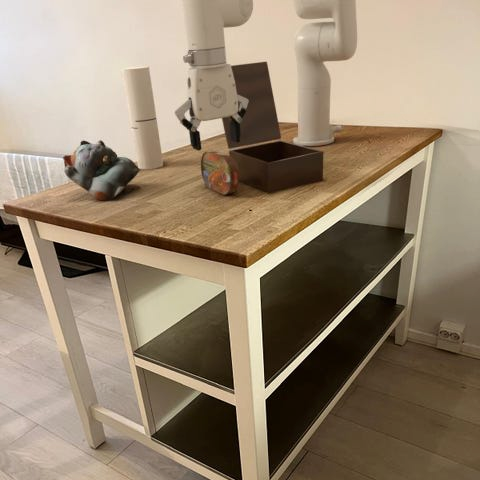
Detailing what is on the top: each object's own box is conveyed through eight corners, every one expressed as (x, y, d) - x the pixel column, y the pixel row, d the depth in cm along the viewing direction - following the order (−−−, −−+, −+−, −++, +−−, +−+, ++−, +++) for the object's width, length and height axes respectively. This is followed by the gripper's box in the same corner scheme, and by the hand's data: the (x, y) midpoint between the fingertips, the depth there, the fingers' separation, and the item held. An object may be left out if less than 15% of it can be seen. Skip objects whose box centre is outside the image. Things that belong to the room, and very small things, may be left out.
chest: (323, 180, 114) (323, 151, 111) (268, 193, 109) (267, 163, 105) (281, 166, 128) (280, 140, 124) (231, 177, 122) (229, 150, 119)
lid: (267, 61, 119) (265, 62, 120) (212, 67, 113) (210, 68, 114) (281, 138, 124) (280, 138, 125) (229, 148, 118) (228, 149, 119)
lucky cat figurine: (108, 204, 109) (65, 150, 104) (86, 215, 119) (46, 166, 113) (149, 169, 117) (112, 117, 111) (126, 182, 126) (90, 134, 120)
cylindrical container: (158, 169, 134) (142, 68, 121) (134, 169, 136) (116, 69, 123) (166, 162, 140) (152, 65, 127) (143, 163, 142) (127, 67, 129)
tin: (201, 184, 118) (197, 149, 114) (212, 182, 120) (209, 146, 115) (230, 199, 107) (227, 160, 102) (242, 196, 108) (240, 157, 104)
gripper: (176, 64, 93) (188, 155, 102) (253, 54, 100) (258, 140, 109) (161, 63, 99) (174, 149, 108) (235, 53, 105) (241, 135, 114)
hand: (216, 145), depth 108 cm, fingers open, 9 cm apart
